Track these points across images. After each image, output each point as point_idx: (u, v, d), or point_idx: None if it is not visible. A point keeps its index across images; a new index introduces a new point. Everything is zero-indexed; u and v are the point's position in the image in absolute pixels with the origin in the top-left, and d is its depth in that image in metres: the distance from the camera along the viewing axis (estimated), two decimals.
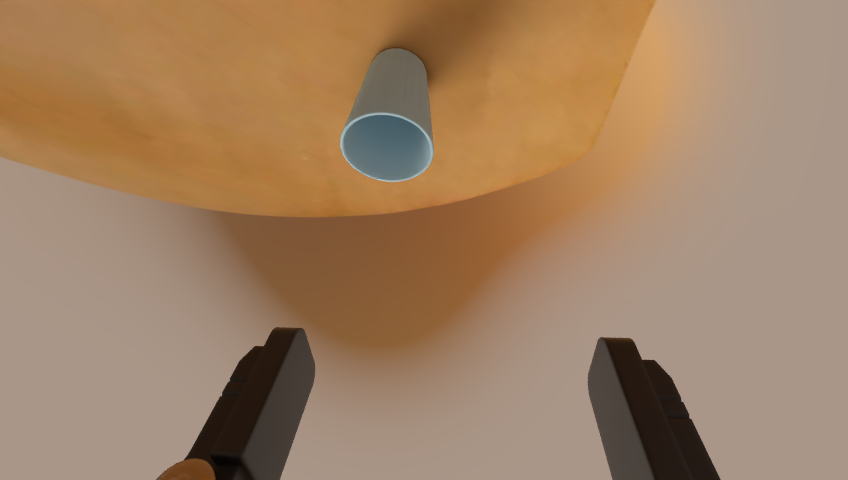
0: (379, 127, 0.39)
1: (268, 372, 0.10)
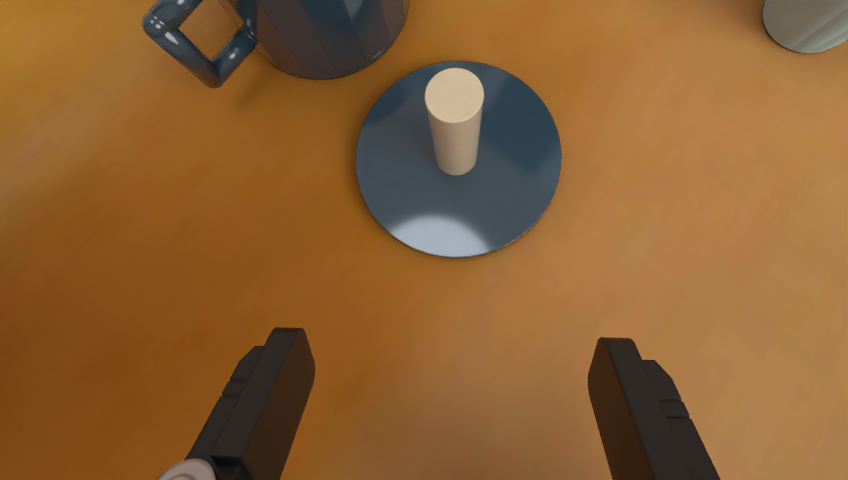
0: None
1: (268, 372, 0.10)
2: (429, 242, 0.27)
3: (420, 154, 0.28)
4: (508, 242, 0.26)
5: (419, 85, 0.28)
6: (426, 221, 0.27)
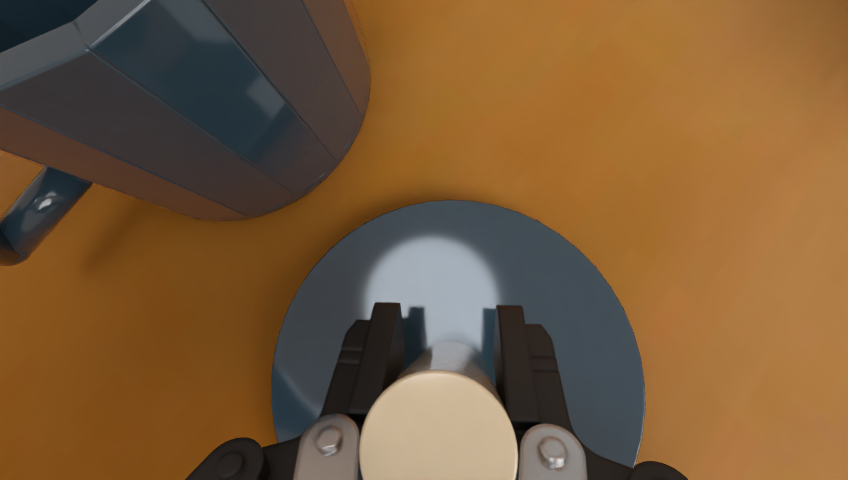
0: None
1: (381, 341, 0.10)
2: None
3: None
4: None
5: (384, 243, 0.16)
6: None
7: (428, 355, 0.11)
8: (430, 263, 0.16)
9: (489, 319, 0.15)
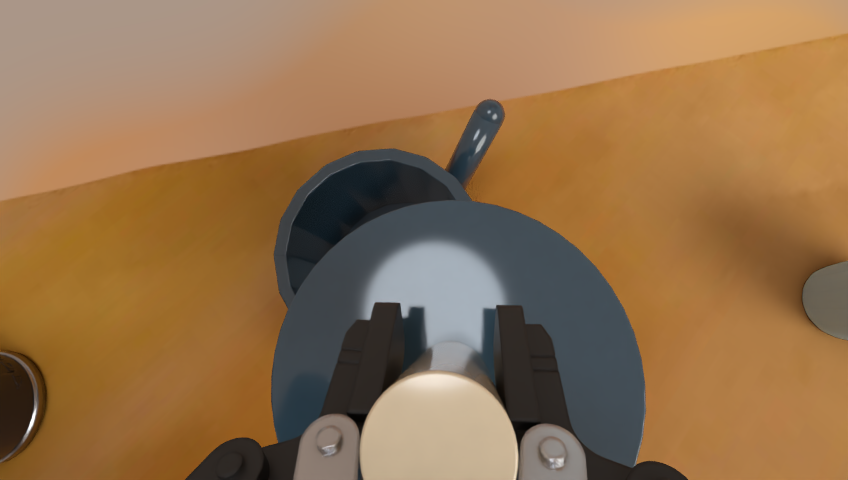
0: None
1: (381, 341, 0.10)
2: None
3: None
4: None
5: (385, 243, 0.16)
6: None
7: (428, 355, 0.11)
8: (430, 263, 0.16)
9: (489, 319, 0.15)
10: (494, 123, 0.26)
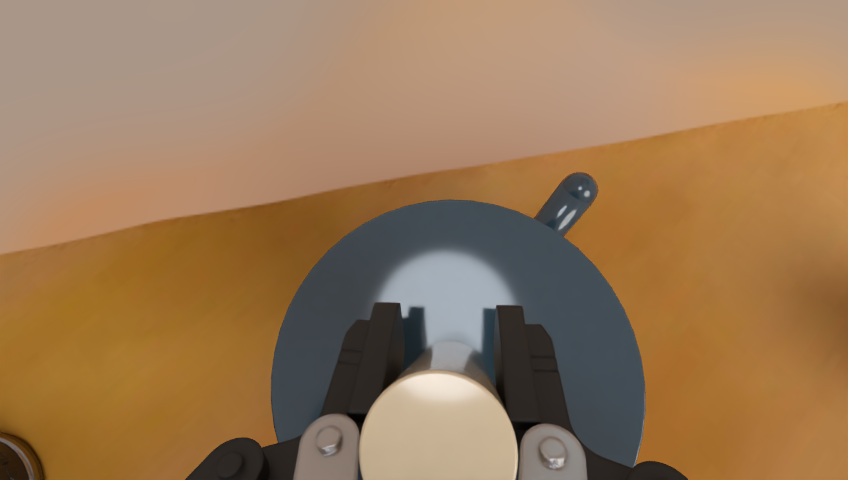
0: None
1: (381, 341, 0.10)
2: None
3: None
4: None
5: (385, 243, 0.16)
6: None
7: (428, 355, 0.11)
8: (430, 263, 0.16)
9: (489, 319, 0.15)
10: (587, 202, 0.22)
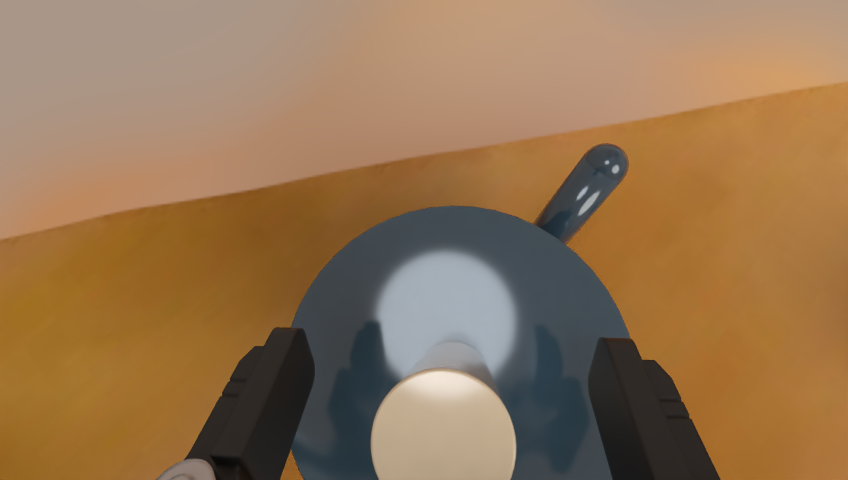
0: None
1: (268, 372, 0.10)
2: None
3: (390, 375, 0.16)
4: None
5: (389, 248, 0.17)
6: None
7: (432, 355, 0.11)
8: (433, 266, 0.16)
9: (490, 320, 0.16)
10: (615, 179, 0.18)
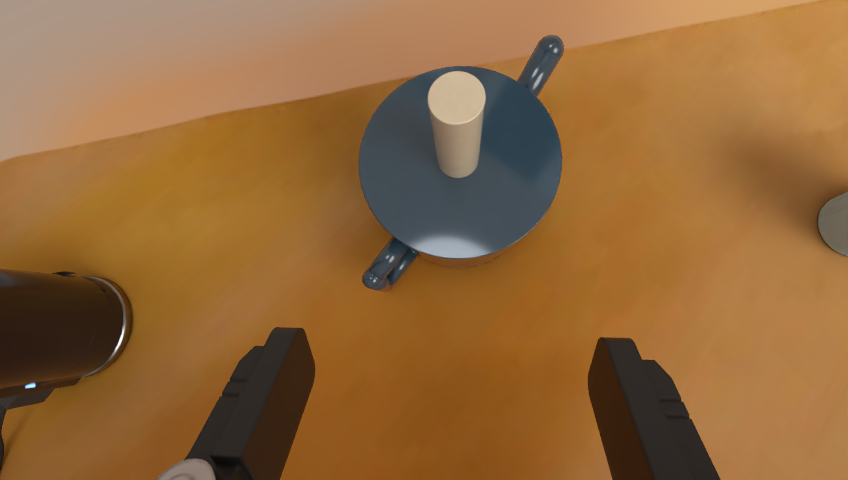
0: None
1: (268, 372, 0.10)
2: (432, 244, 0.27)
3: (422, 157, 0.28)
4: (511, 243, 0.26)
5: (421, 90, 0.29)
6: (429, 223, 0.27)
7: None
8: None
9: None
10: (555, 55, 0.30)
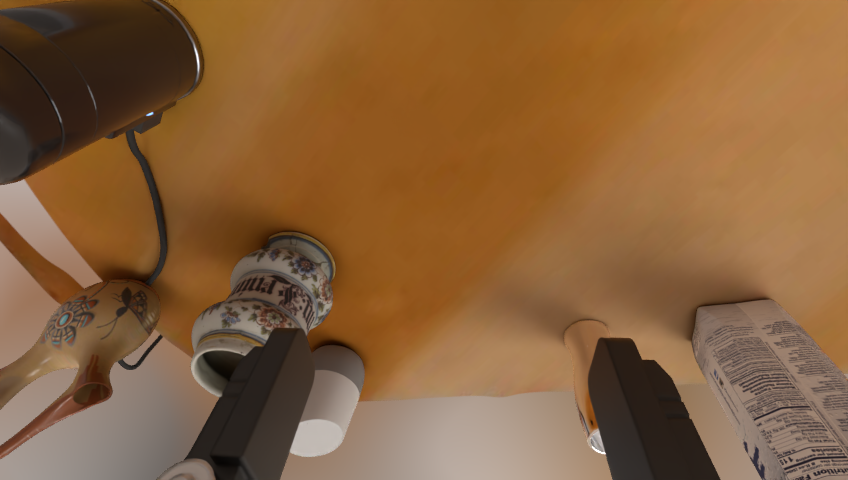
0: None
1: (268, 372, 0.10)
2: None
3: None
4: None
5: None
6: None
7: None
8: None
9: None
10: None
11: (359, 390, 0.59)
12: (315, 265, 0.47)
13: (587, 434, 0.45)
